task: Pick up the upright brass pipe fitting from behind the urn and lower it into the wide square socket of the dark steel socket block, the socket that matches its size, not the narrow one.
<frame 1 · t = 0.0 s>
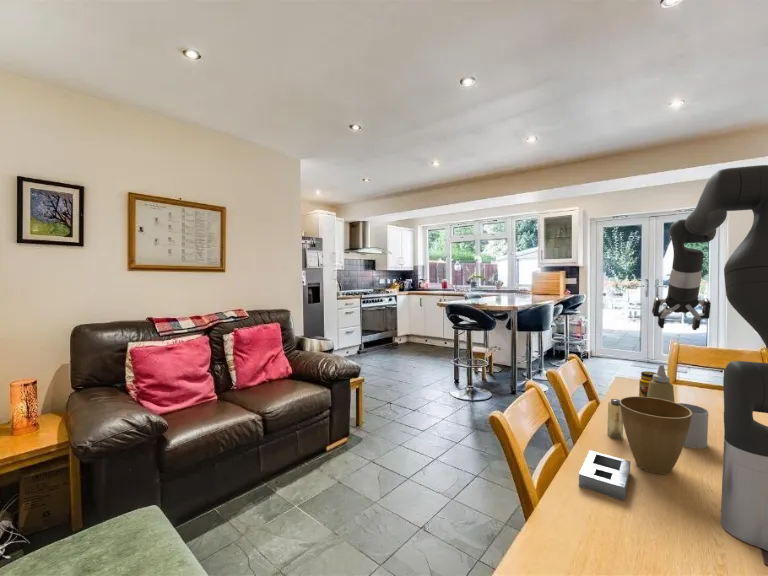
hand: (677, 328, 120), 31 cm above the table, tool tilted 20°, fingers open, 8 cm apart
plant pot: (652, 467, 95), on the table
cup: (688, 442, 108), on the table
condiment: (648, 404, 139), on the table
squeeze bottle: (659, 417, 126), on the table
brass fitting: (615, 436, 112), on the table
steel socket block: (605, 479, 89), on the table
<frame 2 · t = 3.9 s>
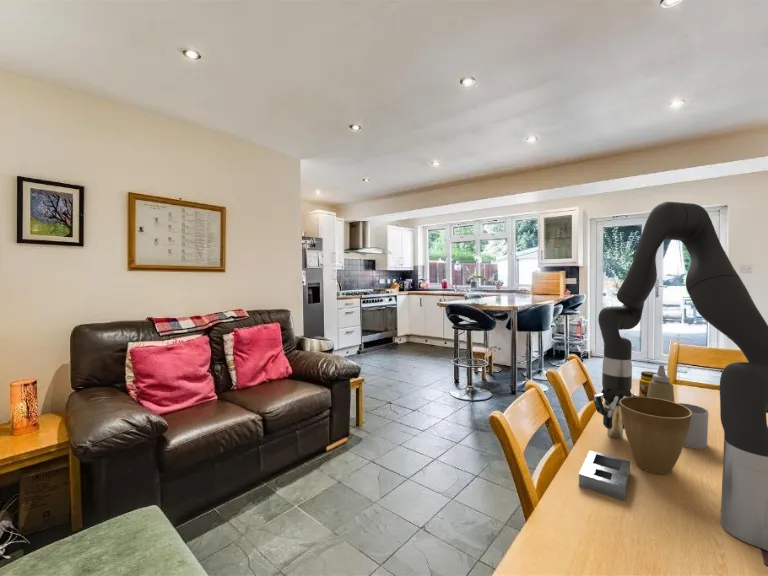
hand: (615, 427, 112), 3 cm above the table, tool pointing down, fingers closed on brass fitting, 4 cm apart
brass fitting: (614, 436, 112), on the table, touching gripper
everything else where it was.
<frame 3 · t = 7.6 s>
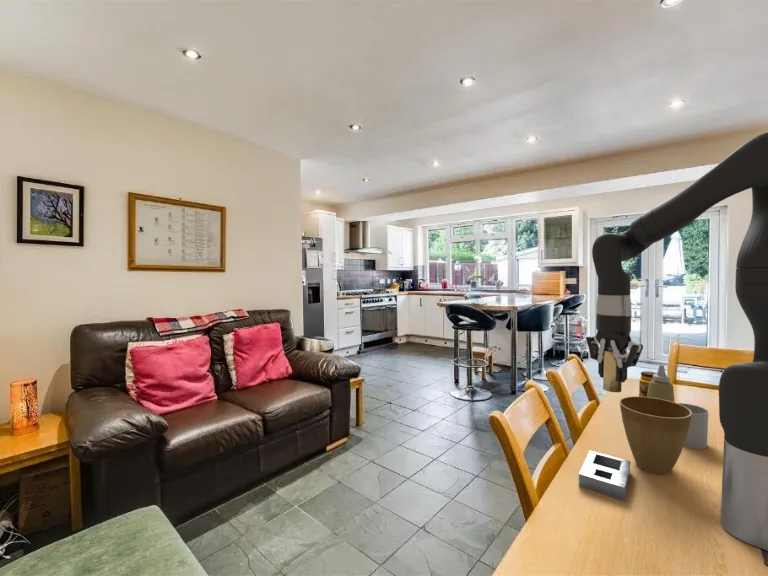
hand: (612, 379, 94), 23 cm above the table, tool pointing down, fingers closed on brass fitting, 4 cm apart
brass fitting: (612, 389, 94), point 20 cm above the table, touching gripper
everything else where it was.
when the fingers open (4 cm above the table, at t = 11.2 s): brass fitting drops 1 cm, resting in steel socket block.
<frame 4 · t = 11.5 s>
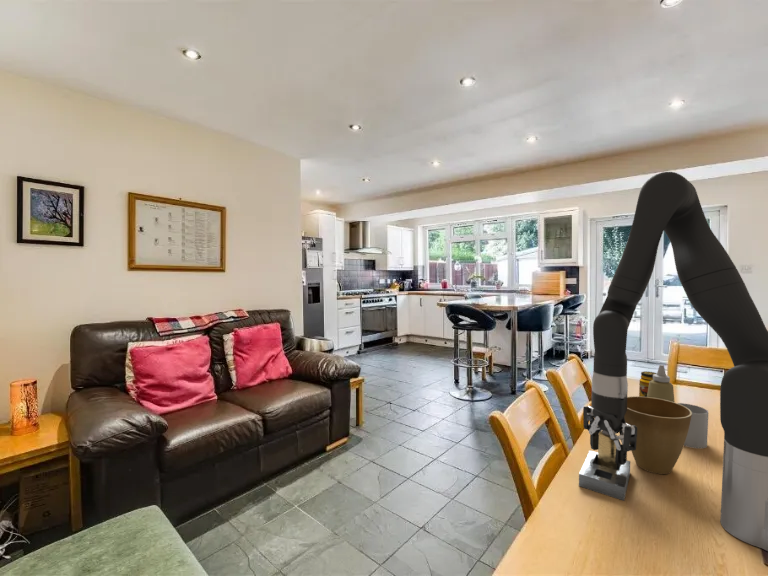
hand: (607, 456, 91), 4 cm above the table, tool pointing down, fingers open, 7 cm apart
brass fitting: (606, 473, 92), resting in steel socket block
everything else where it was.
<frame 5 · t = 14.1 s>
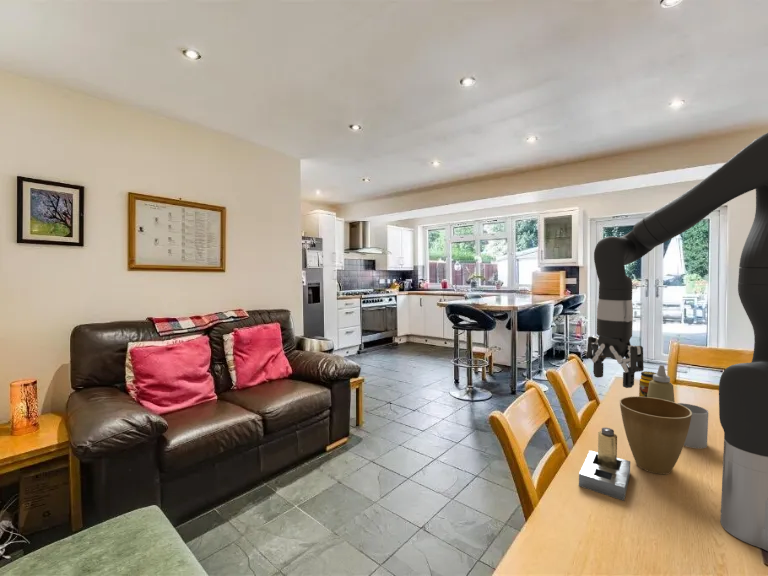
hand: (612, 381, 92), 23 cm above the table, tool pointing down, fingers open, 8 cm apart
nothing on the table moved.
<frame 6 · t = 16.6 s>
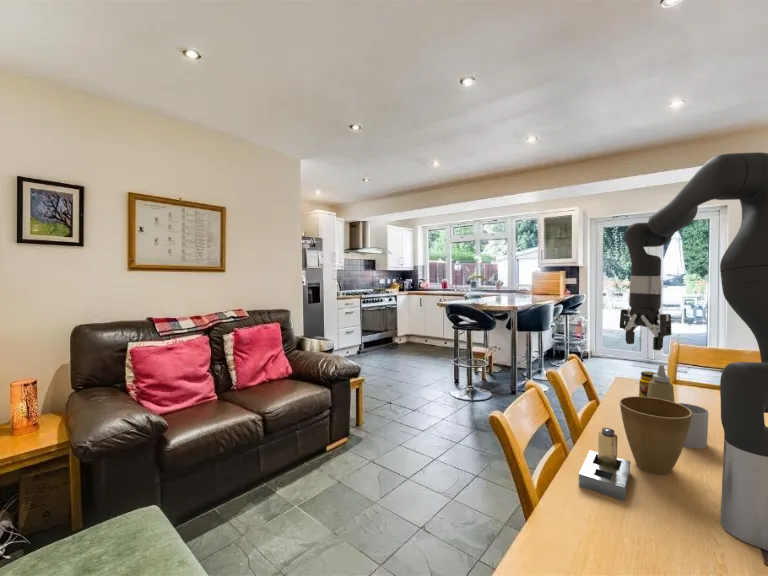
hand: (643, 346, 108), 28 cm above the table, tool pointing down, fingers open, 8 cm apart
nothing on the table moved.
at the end: brass fitting 0.1 cm from the target spot, resting in steel socket block; brass fitting tilted 1°; the gripper is holding nothing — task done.
